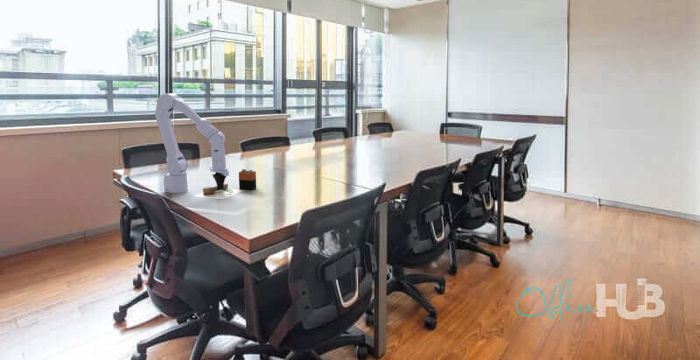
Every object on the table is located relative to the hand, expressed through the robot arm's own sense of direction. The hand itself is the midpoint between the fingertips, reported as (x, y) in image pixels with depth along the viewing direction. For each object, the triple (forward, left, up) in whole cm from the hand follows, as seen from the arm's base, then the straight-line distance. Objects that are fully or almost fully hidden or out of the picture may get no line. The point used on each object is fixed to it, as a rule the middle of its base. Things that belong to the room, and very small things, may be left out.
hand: (220, 189), depth 192 cm
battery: (+9, +9, -2) cm, 13 cm away
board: (+1, -3, -2) cm, 3 cm away
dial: (-2, -1, -1) cm, 2 cm away
